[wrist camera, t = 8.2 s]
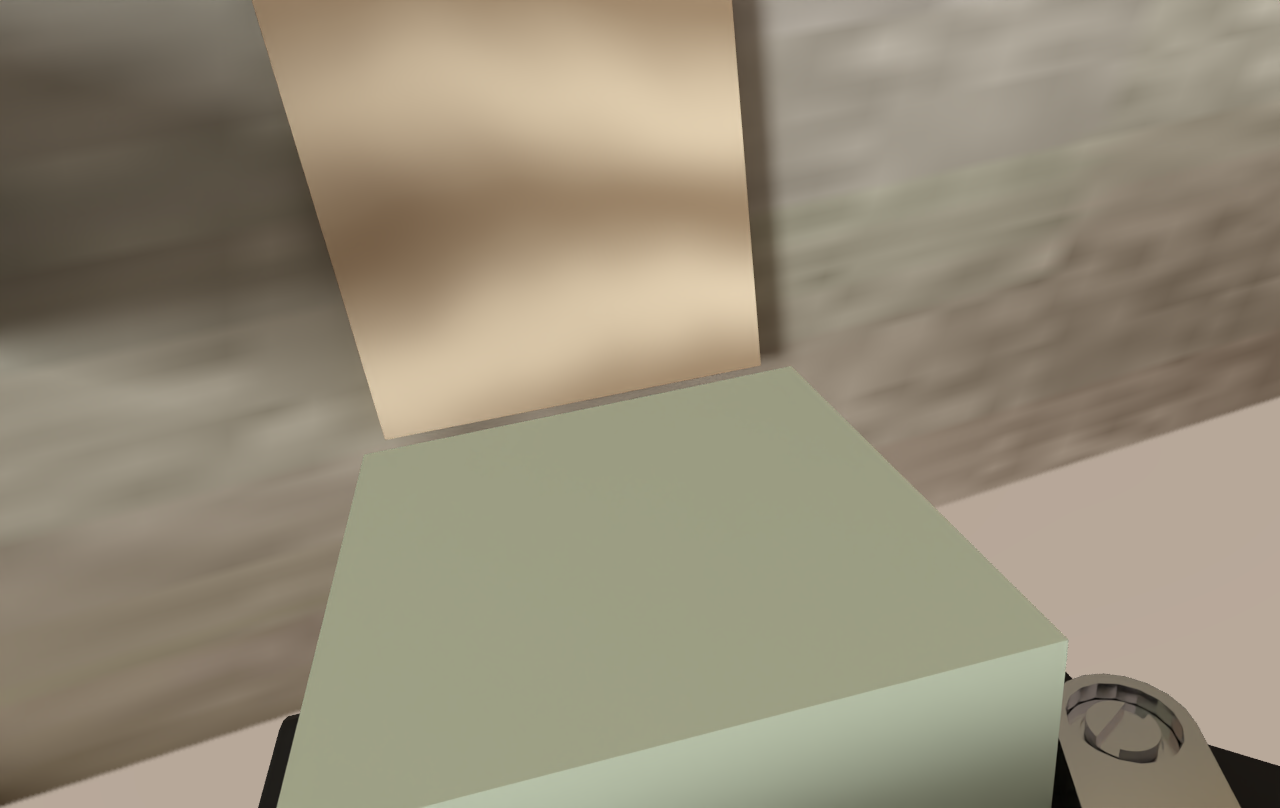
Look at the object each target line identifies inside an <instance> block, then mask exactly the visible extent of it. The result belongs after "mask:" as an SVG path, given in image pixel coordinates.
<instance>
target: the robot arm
mask: <svg viewBox="0 0 1280 808" xmlns="http://www.w3.org/2000/svg"><path fill="white" fill-rule="evenodd" d="M299 715H300V714H296V715H292V716H288V717H287V718H286V719H285V720H284V721H283V723H282V725H281V728H280V730H279V733H278V737H277V741H276V744H275V748H274V752H273V755H272V759H271V763H270V766H269V770H268V774H267V777H266V781H265V785H264V789H263V792H262V796H261V799H260V803H259V807H258V808H277V804H278V800H279V796H280V792H281V788H282V784H283V780H284V776H285V772H286V768H287V764H288V760H289V756H290V752H291V748H292V744H293V739H294V735H295V731H296V727H297V723H298V719H299ZM1051 808H1280V766H1278V765H1274V764H1271V763H1267V762H1264V761H1261V760H1258V759H1254V758H1250V757H1248V756H1244V755H1241V754H1238V753H1234V752H1231V751H1228V750H1224V749H1221V748H1218V747H1214V746H1211V745H1208V744H1207V742H1206V740H1205V738H1204V736H1203V734H1202V733H1201V731H1200V729H1199V727H1198V725H1197V723H1196V722H1195V721H1194V719H1193V718H1192V717H1191V715H1190V714H1189V713H1188V711H1187V710H1186V709H1185V708H1184V707H1183V706H1182V705H1181V704H1179V703H1178V702H1177V701H1176V700H1174V699H1173V698H1172V697H1171V696H1169V695H1168V694H1167V693H1165V692H1163V691H1161V690H1159V689H1157V688H1155V687H1153V686H1151V685H1149V684H1147V683H1144V682H1141V681H1138V680H1135V679H1132V678H1129V677H1125V676H1117V675H1110V674H1093V675H1083V676H1080V677H1077V678H1074V679H1072V678H1071V677H1070V676H1069V675H1068V674H1067V673H1066V672H1065V679H1064V689H1063V699H1062V708H1061V718H1060V728H1059V737H1058V747H1057V757H1056V766H1055V776H1054V786H1053V795H1052V805H1051Z"/></svg>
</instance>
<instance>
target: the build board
mask: <svg viewBox="0 0 1280 808" xmlns="http://www.w3.org/2000/svg"><path fill="white" fill-rule="evenodd" d="M252 3H253V6H254V9H255V13H256V16H257V19H258V23H259V26H260V29H261V32H262V36H263V39H264V42H265V46H266V49H267V52H268V55H269V59H270V62H271V65H272V69H273V72H274V75H275V79H276V82H277V85H278V88H279V92H280V95H281V98H282V102H283V105H284V108H285V111H286V115H287V118H288V121H289V125H290V128H291V131H292V134H293V138H294V141H295V144H296V148H297V151H298V154H299V157H300V161H301V164H302V167H303V171H304V174H305V177H306V180H307V184H308V187H309V190H310V194H311V197H312V200H313V204H314V207H315V210H316V213H317V217H318V220H319V223H320V227H321V230H322V233H323V236H324V240H325V243H326V246H327V250H328V253H329V256H330V259H331V263H332V266H333V269H334V273H335V276H336V279H337V282H338V286H339V289H340V292H341V296H342V299H343V302H344V305H345V309H346V312H347V315H348V319H349V322H350V325H351V329H352V332H353V335H354V338H355V342H356V345H357V348H358V352H359V355H360V358H361V361H362V365H363V368H364V371H365V375H366V378H367V381H368V384H369V388H370V391H371V394H372V398H373V401H374V404H375V407H376V411H377V414H378V417H379V421H380V424H381V427H382V430H383V434H384V437H385V440H388V439H393V438H398V437H403V436H408V435H413V434H418V433H423V432H428V431H433V430H438V429H443V428H448V427H453V426H458V425H463V424H468V423H473V422H478V421H483V420H488V419H493V418H498V417H503V416H508V415H513V414H518V413H524V412H529V411H534V410H539V409H544V408H549V407H554V406H559V405H564V404H569V403H574V402H579V401H584V400H589V399H594V398H599V397H604V396H609V395H614V394H619V393H624V392H629V391H634V390H639V389H644V388H649V387H654V386H659V385H664V384H669V383H674V382H680V381H685V380H690V379H695V378H700V377H705V376H710V375H715V374H720V373H725V372H730V371H735V370H740V369H745V368H750V367H755V366H760V365H761V360H760V348H759V335H758V322H757V310H756V297H755V285H754V272H753V260H752V247H751V234H750V222H749V209H748V197H747V184H746V172H745V159H744V147H743V134H742V121H741V109H740V96H739V84H738V71H737V59H736V46H735V33H734V21H733V8H732V0H252Z"/></svg>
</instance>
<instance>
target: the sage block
mask: <svg viewBox="0 0 1280 808" xmlns="http://www.w3.org/2000/svg"><path fill="white" fill-rule="evenodd" d="M1067 650H1068V639H1067V638H1066V637H1065V636H1064V635H1063V634H1062V633H1061V632H1060V631H1059V630H1058V629H1057V628H1056V627H1055V626H1054V625H1053V624H1052V623H1051V622H1050V621H1049V620H1048V619H1047V618H1046V617H1045V616H1044V615H1043V614H1042V613H1041V612H1040V611H1039V610H1038V609H1037V608H1036V607H1035V606H1034V605H1033V604H1032V603H1031V602H1030V601H1029V600H1028V599H1027V598H1026V597H1025V596H1024V595H1023V594H1021V592H1020V591H1018V590H1017V589H1016V587H1014V586H1013V585H1012V584H1011V583H1010V582H1009V581H1008V580H1007V579H1006V578H1005V577H1004V576H1003V575H1002V574H1001V573H1000V572H999V571H998V570H997V569H996V568H995V567H994V566H993V565H992V564H991V563H990V562H989V561H988V560H987V559H986V558H985V557H984V556H983V555H982V554H981V553H980V552H979V551H978V550H977V549H976V548H975V547H974V546H973V545H972V544H971V543H970V542H969V541H968V540H967V539H966V538H965V537H964V536H963V535H962V534H961V533H959V531H958V530H957V529H956V528H955V527H954V526H953V525H951V523H950V522H949V521H948V520H947V519H946V518H945V517H943V515H942V514H940V513H939V512H938V511H937V510H936V509H935V508H934V507H933V506H932V505H931V504H930V503H929V502H928V501H927V500H926V499H925V498H924V497H923V496H922V495H921V494H920V493H919V492H918V491H917V490H916V489H915V488H914V487H913V486H912V485H911V484H910V483H909V482H908V481H907V480H906V479H905V478H904V477H903V476H902V475H901V474H900V473H899V472H898V471H897V470H896V469H895V468H894V467H893V466H892V465H891V464H890V463H889V462H888V461H887V460H886V459H885V458H884V457H883V456H882V455H881V454H880V453H879V452H878V451H877V450H876V449H875V448H874V447H873V446H872V445H871V444H870V443H868V442H867V441H866V440H865V439H864V438H863V437H862V436H861V435H860V434H859V433H858V432H857V431H856V430H855V429H854V428H853V427H852V426H851V425H850V424H849V423H848V422H847V421H846V420H845V419H844V418H843V417H842V416H841V415H840V414H839V413H838V412H837V411H836V410H835V409H834V408H833V407H832V406H831V405H830V404H829V403H828V402H827V401H826V400H825V399H824V398H823V397H822V396H821V395H820V394H819V393H818V392H817V391H816V390H815V389H814V388H813V387H812V386H811V385H810V384H809V383H808V382H807V381H806V380H805V379H804V378H803V377H802V376H801V375H800V374H799V373H798V372H797V371H795V370H794V369H793V368H792V367H791V366H790V367H785V368H780V369H775V370H771V371H766V372H761V373H756V374H751V375H746V376H742V377H737V378H732V379H727V380H722V381H717V382H713V383H708V384H703V385H698V386H693V387H689V388H684V389H679V390H674V391H669V392H664V393H660V394H655V395H650V396H645V397H640V398H636V399H631V400H626V401H621V402H616V403H611V404H607V405H602V406H597V407H592V408H587V409H582V410H578V411H573V412H568V413H563V414H558V415H554V416H549V417H544V418H539V419H534V420H529V421H525V422H520V423H515V424H510V425H505V426H501V427H496V428H491V429H486V430H481V431H476V432H472V433H467V434H462V435H457V436H452V437H447V438H443V439H438V440H433V441H428V442H423V443H419V444H414V445H409V446H404V447H399V448H394V449H390V450H385V451H380V452H375V453H370V454H366V455H364V457H363V461H362V465H361V469H360V473H359V477H358V481H357V485H356V489H355V494H354V498H353V502H352V506H351V510H350V514H349V518H348V522H347V526H346V530H345V534H344V538H343V542H342V546H341V550H340V554H339V558H338V562H337V566H336V570H335V574H334V578H333V582H332V586H331V590H330V594H329V598H328V602H327V606H326V610H325V614H324V619H323V623H322V627H321V631H320V635H319V639H318V643H317V647H316V651H315V655H314V659H313V663H312V667H311V671H310V675H309V679H308V683H307V687H306V691H305V695H304V699H303V703H302V707H301V711H300V715H299V719H298V723H297V727H296V731H295V735H294V739H293V744H292V748H291V752H290V756H289V760H288V764H287V768H286V772H285V776H284V780H283V784H282V788H281V792H280V796H279V800H278V804H277V808H1051V805H1052V795H1053V786H1054V776H1055V766H1056V757H1057V747H1058V737H1059V728H1060V718H1061V708H1062V699H1063V689H1064V679H1065V669H1066V660H1067Z"/></svg>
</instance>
